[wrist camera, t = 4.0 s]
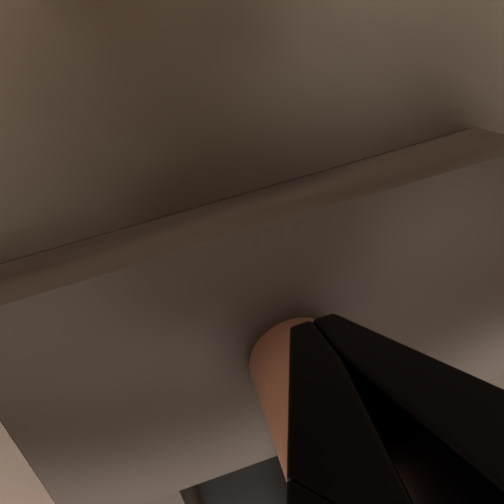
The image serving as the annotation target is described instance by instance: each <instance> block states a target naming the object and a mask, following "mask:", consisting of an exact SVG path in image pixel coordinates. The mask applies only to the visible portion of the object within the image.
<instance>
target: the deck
mask: <svg viewBox="0 0 504 504" xmlns="http://www.w3.org/2000/svg"><path fill="white" fill-rule="evenodd" d="M328 314H337V315H339V316H342V317H344V318H346V319H348V320H350V321H353V322H355V323H357V324H359V325H362V326H364V327H366V328H368V329H370V330H373V331H375V332H377V333H379V334H382V335H384V336H386V337H388V338H390V339H393V340H395V341H397V342H399V343H402V344H404V345H406V346H408V347H410V348H413V349H415V350H417V351H419V352H422V353H424V354H426V355H428V356H431V357H433V358H435V359H437V360H439V361H442V362H444V363H446V364H448V365H451V366H453V367H455V368H457V369H459V370H462V371H464V372H466V373H468V374H471V375H473V376H475V377H477V378H479V379H482V380H484V381H486V382H488V383H491V384H493V385H495V386H497V387H499V388H502V389H504V134H500V133H495V132H491V131H486V130H482V129H477V128H471V129H468V130H464V131H461V132H457V133H454V134H450V135H447V136H443V137H440V138H436V139H433V140H429V141H426V142H422V143H419V144H415V145H412V146H408V147H405V148H402V149H398V150H395V151H391V152H388V153H384V154H381V155H377V156H374V157H370V158H367V159H363V160H360V161H356V162H353V163H349V164H346V165H342V166H339V167H336V168H332V169H329V170H325V171H322V172H318V173H315V174H311V175H308V176H304V177H301V178H297V179H294V180H290V181H287V182H283V183H280V184H276V185H273V186H270V187H266V188H263V189H259V190H256V191H252V192H249V193H245V194H242V195H238V196H235V197H231V198H228V199H224V200H221V201H217V202H214V203H210V204H207V205H203V206H200V207H197V208H193V209H190V210H186V211H183V212H179V213H176V214H172V215H169V216H165V217H162V218H158V219H155V220H151V221H148V222H144V223H141V224H137V225H134V226H131V227H127V228H124V229H120V230H117V231H113V232H110V233H106V234H103V235H99V236H96V237H92V238H89V239H85V240H82V241H78V242H75V243H71V244H68V245H64V246H61V247H58V248H54V249H51V250H47V251H44V252H40V253H37V254H33V255H30V256H26V257H23V258H19V259H16V260H12V261H9V262H5V263H2V264H0V422H1V423H2V425H3V426H4V428H5V429H6V431H7V432H8V433H9V435H10V436H11V438H12V439H13V441H14V442H15V444H16V445H17V447H18V448H19V450H20V451H21V453H22V454H23V456H24V457H25V459H26V460H27V462H28V463H29V465H30V466H31V468H32V469H33V471H34V472H35V474H36V475H37V477H38V478H39V480H40V481H41V483H42V484H43V486H44V487H45V489H46V490H47V492H48V493H49V495H50V496H51V498H52V499H53V501H54V502H55V504H286V483H287V482H286V479H285V476H284V473H283V470H282V467H281V464H280V461H279V458H278V455H277V452H276V449H275V446H274V443H273V441H272V438H271V435H270V432H269V429H268V426H267V423H266V420H265V417H264V414H263V411H262V408H261V405H260V402H259V399H258V396H257V393H256V390H255V387H254V385H253V382H252V379H251V376H250V372H249V359H250V355H251V352H252V350H253V348H254V346H255V344H256V343H257V341H258V340H259V339H260V338H261V337H262V336H263V335H264V334H265V333H266V332H267V331H268V330H269V329H271V328H272V327H274V326H276V325H277V324H279V323H281V322H284V321H287V320H290V319H294V318H305V317H306V318H314V319H316V318H319V317H322V316H325V315H328Z"/></svg>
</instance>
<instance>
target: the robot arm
mask: <svg viewBox="0 0 504 504" xmlns="http://www.w3.org/2000/svg"><path fill="white" fill-rule="evenodd" d="M286 504H504V389H502V388H499V387H497V386H495V385H493V384H491V383H488V382H486V381H484V380H482V379H479V378H477V377H475V376H473V375H471V374H468V373H466V372H464V371H462V370H459V369H457V368H455V367H453V366H451V365H448V364H446V363H444V362H442V361H439V360H437V359H435V358H433V357H431V356H428V355H426V354H424V353H422V352H419V351H417V350H415V349H413V348H410V347H408V346H406V345H404V344H402V343H399V342H397V341H395V340H393V339H390V338H388V337H386V336H384V335H382V334H379V333H377V332H375V331H373V330H370V329H368V328H366V327H364V326H362V325H359V324H357V323H355V322H353V321H350V320H348V319H346V318H344V317H342V316H339V315H337V314H328V315H325V316H322V317H319V318H316V319H314V320H313V322H311V321H306V322H303V323H300V324H297V325H294V326H292V327H291V328H290V343H289V392H288V439H287V483H286Z"/></svg>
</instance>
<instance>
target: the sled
mask: <svg viewBox="0 0 504 504" xmlns="http://www.w3.org/2000/svg"><path fill="white" fill-rule="evenodd" d="M313 320H314V318H306V317H305V318H294V319H290V320H287V321H284V322H281V323H279V324H277V325H276V326H274V327H272V328H271V329H269V330H268V331H267V332H266V333H265V334H264V335H263V336H262V337H261V338H260V339H259V340H258V341H257V343H256V344H255V346H254V348H253V350H252V352H251V355H250V359H249V372H250V376H251V379H252V382H253V385H254V387H255V390H256V393H257V396H258V399H259V402H260V405H261V408H262V411H263V414H264V417H265V420H266V423H267V426H268V429H269V432H270V435H271V438H272V441H273V443H274V446H275V449H276V452H277V455H278V458H279V461H280V464H281V467H282V470H283V473H284V476H285V479H286V482H287V439H288V392H289V343H290V328H291V327H292V326H294V325H297V324H300V323H303V322H306V321H311V322H313Z"/></svg>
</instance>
